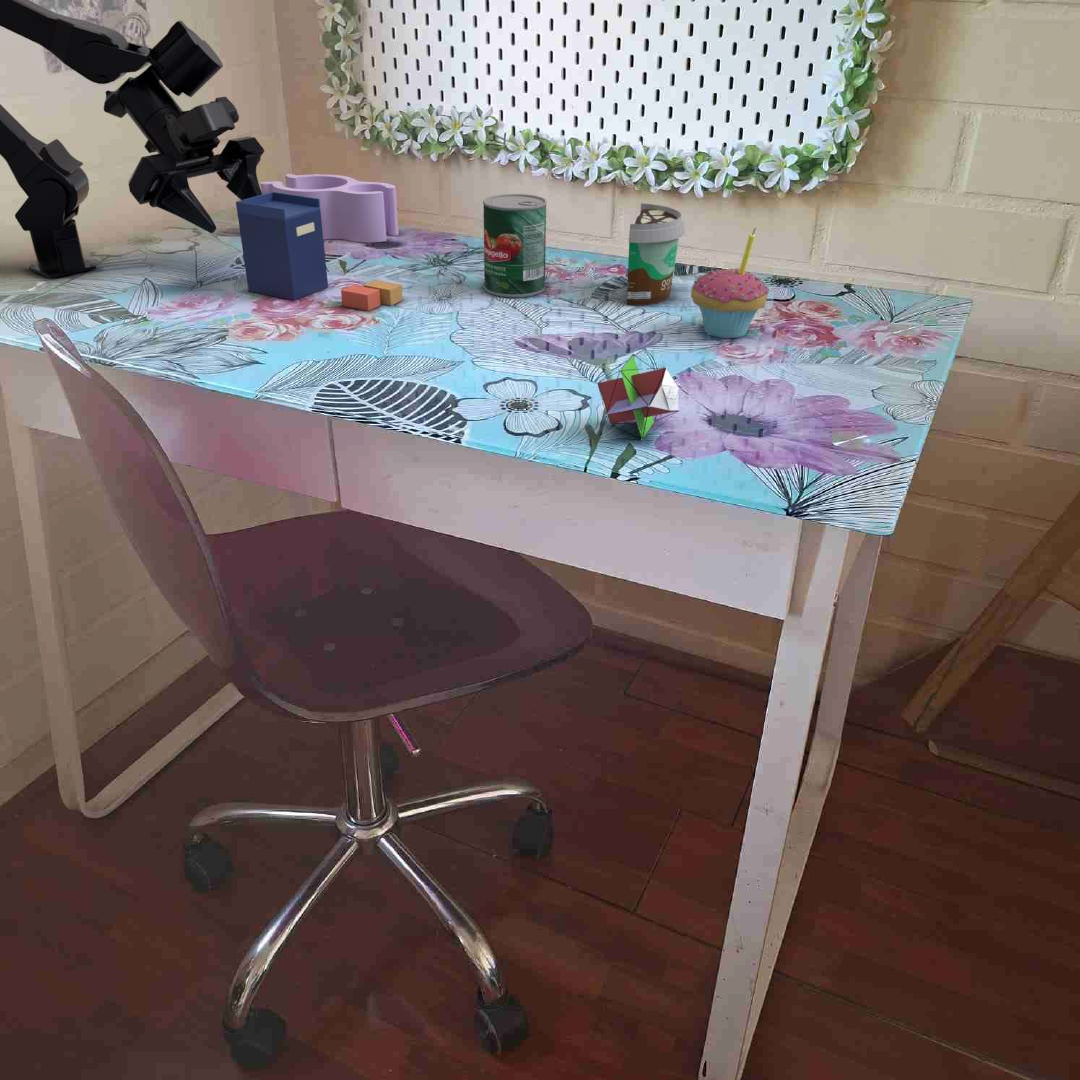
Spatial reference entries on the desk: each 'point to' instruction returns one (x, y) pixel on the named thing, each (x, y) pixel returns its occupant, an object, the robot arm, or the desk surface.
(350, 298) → the block
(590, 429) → the desk surface
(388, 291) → the snack bar tan
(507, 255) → the canned tomato
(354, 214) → the clip
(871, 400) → the desk surface
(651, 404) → the geometric puzzle
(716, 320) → the cupcake
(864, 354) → the desk surface
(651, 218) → the food container
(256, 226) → the blue storage box
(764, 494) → the desk surface
